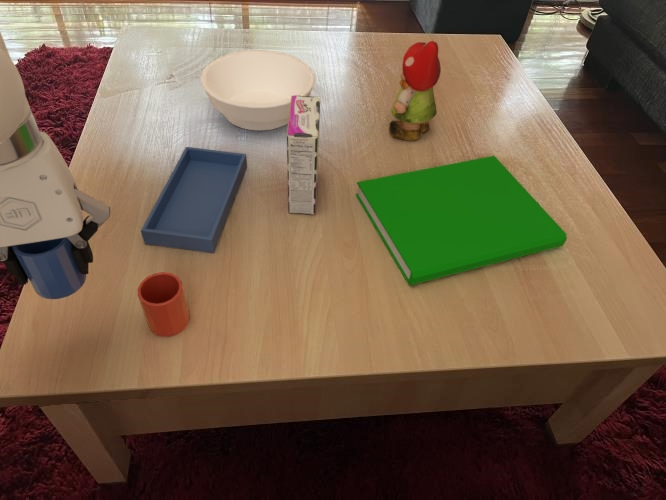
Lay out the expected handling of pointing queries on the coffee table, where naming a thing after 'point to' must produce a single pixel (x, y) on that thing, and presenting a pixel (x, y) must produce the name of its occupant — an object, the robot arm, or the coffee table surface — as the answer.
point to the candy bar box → (303, 154)
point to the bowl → (256, 87)
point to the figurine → (416, 92)
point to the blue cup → (50, 267)
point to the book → (456, 218)
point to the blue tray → (196, 200)
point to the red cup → (164, 304)
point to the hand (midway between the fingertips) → (55, 269)
